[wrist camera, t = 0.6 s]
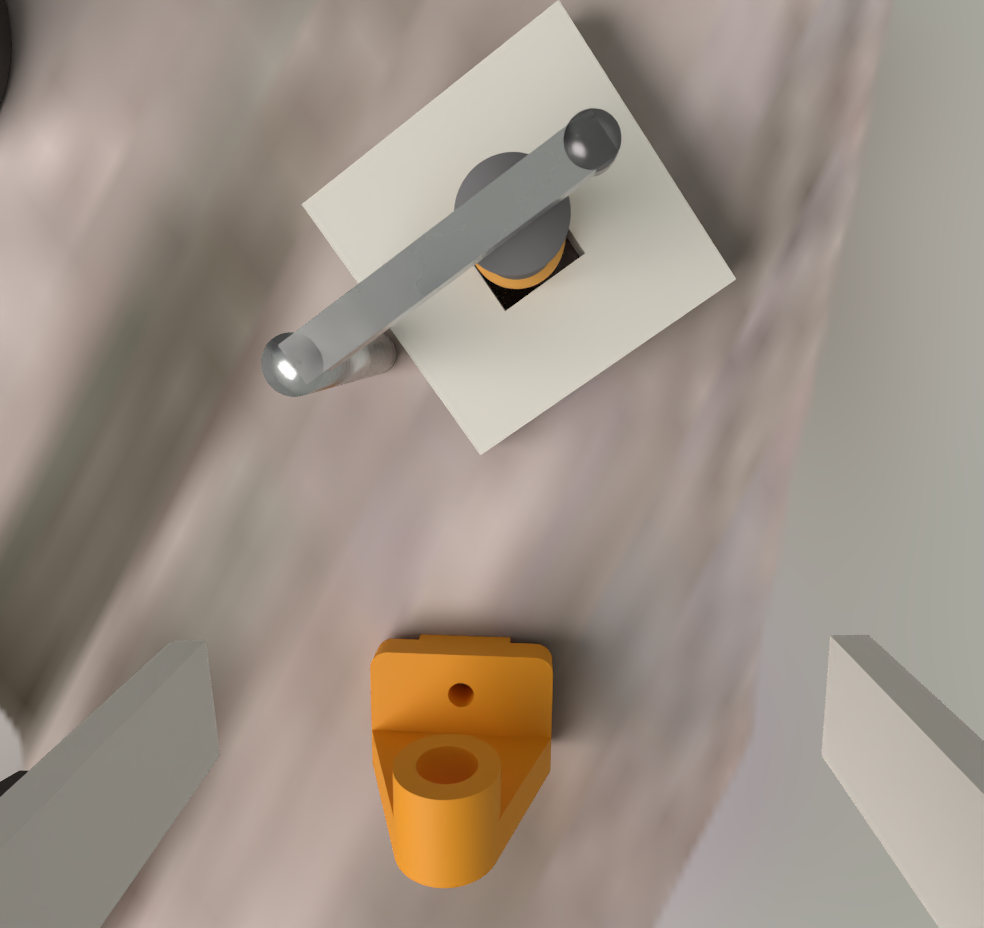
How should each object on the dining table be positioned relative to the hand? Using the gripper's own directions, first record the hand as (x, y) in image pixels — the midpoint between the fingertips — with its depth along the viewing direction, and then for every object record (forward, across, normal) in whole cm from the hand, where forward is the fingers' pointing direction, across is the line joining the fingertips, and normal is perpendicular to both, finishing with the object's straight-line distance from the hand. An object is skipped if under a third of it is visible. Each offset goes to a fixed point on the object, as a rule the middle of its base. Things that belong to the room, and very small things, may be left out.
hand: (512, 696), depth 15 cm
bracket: (+27, -4, -15) cm, 31 cm away
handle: (+27, -3, +10) cm, 29 cm away
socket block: (+27, 0, +12) cm, 29 cm away
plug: (+27, 0, +12) cm, 29 cm away
